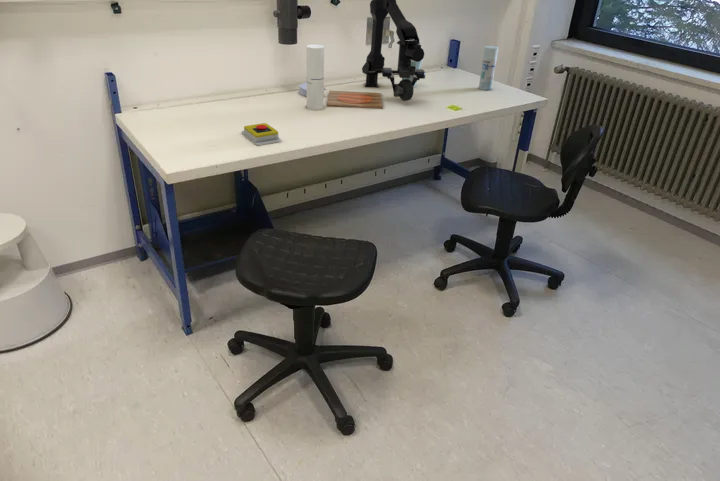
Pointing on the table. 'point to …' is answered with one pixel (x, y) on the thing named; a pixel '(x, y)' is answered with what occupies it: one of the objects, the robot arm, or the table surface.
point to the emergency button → (261, 134)
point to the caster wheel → (404, 90)
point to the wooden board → (354, 99)
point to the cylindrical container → (315, 76)
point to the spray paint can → (488, 67)
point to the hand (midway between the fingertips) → (401, 92)
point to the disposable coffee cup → (418, 66)
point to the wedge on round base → (304, 89)
